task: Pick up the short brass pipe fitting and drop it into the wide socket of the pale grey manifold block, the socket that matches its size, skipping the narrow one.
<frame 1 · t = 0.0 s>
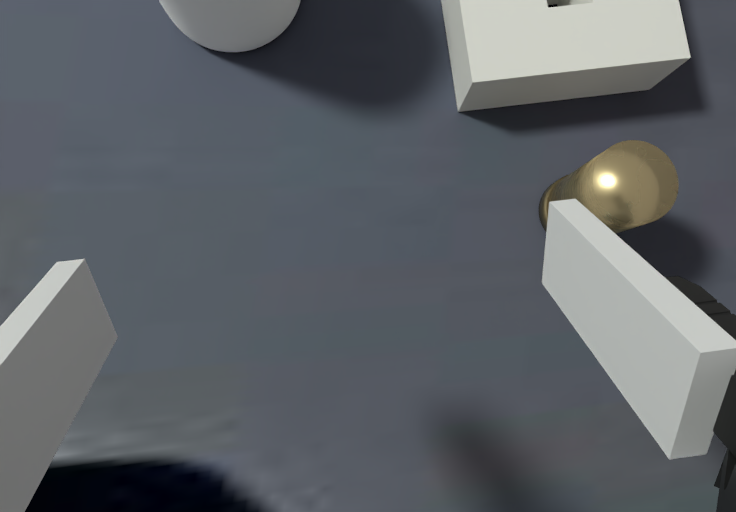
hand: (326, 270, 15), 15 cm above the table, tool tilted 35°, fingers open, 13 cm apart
fitting: (573, 211, 31), on the table
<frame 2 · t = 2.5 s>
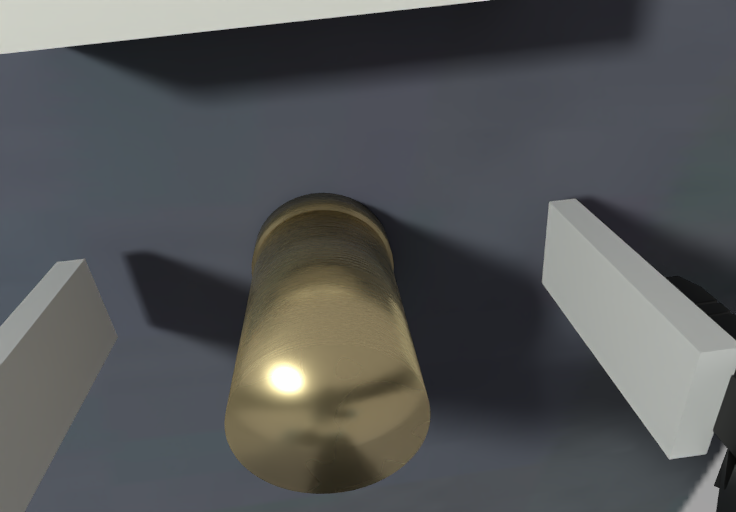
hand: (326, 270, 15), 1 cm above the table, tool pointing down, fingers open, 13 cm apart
fitting: (323, 255, 16), on the table
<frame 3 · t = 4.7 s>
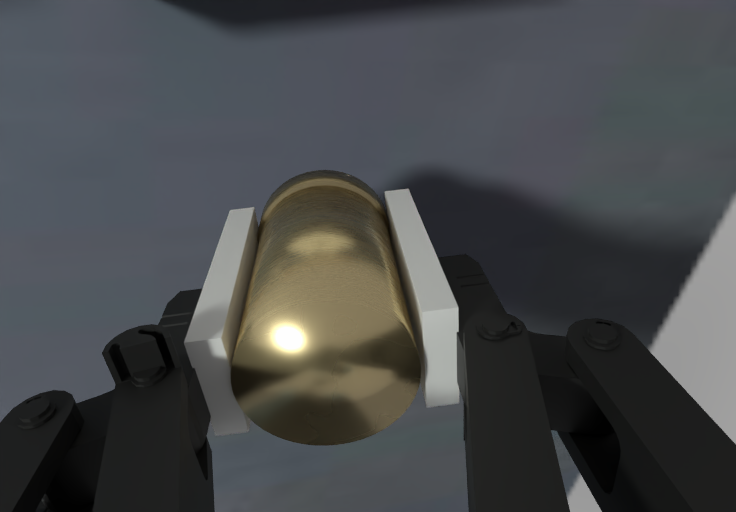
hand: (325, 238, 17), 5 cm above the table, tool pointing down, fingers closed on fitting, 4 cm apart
fitting: (325, 230, 17), point 5 cm above the table, touching gripper
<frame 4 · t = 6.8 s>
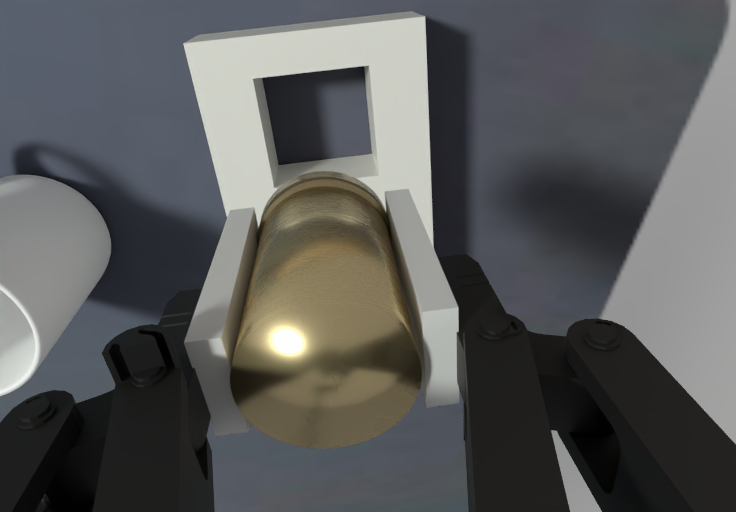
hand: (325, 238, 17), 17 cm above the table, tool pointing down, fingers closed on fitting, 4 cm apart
fitting: (325, 231, 17), point 17 cm above the table, touching gripper
mug: (31, 208, 33), on the table
manifold block: (329, 188, 34), on the table
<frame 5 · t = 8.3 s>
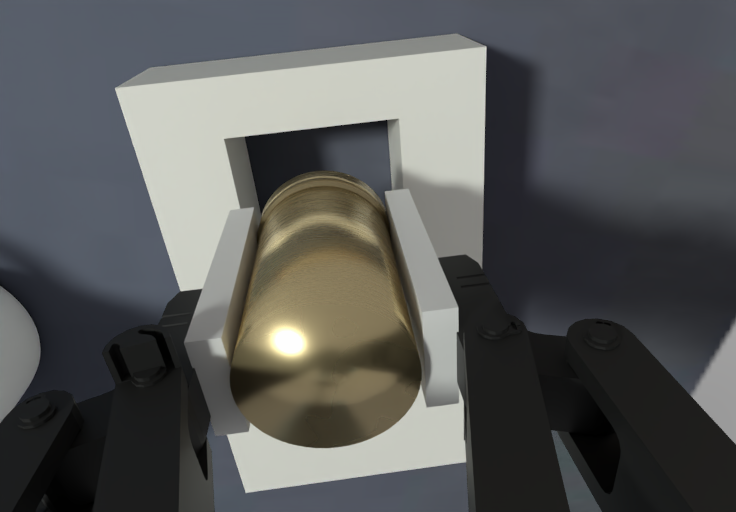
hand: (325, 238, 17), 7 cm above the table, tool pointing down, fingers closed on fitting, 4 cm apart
fitting: (325, 231, 17), point 6 cm above the table, touching gripper
manifold block: (336, 269, 25), on the table
when the fingers open (6 cm above the table, at t = 9.1 s): fitting drops 5 cm, resting in manifold block.
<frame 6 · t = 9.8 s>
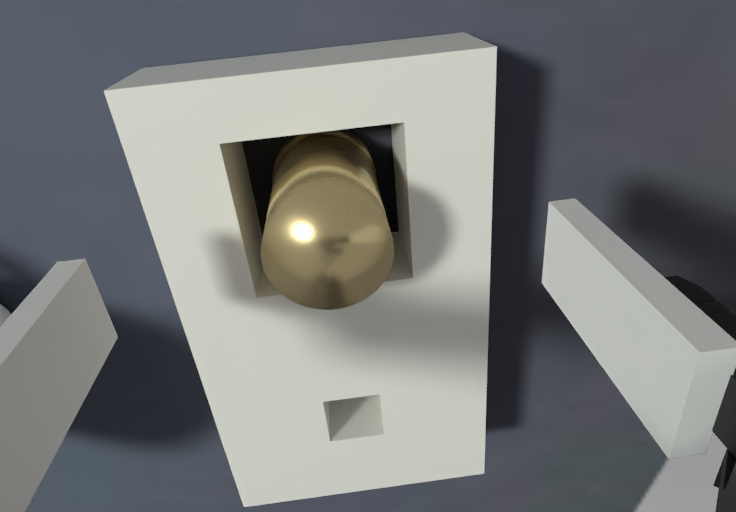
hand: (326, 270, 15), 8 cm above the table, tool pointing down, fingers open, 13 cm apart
fitting: (324, 174, 22), resting in manifold block
manifold block: (337, 277, 24), on the table
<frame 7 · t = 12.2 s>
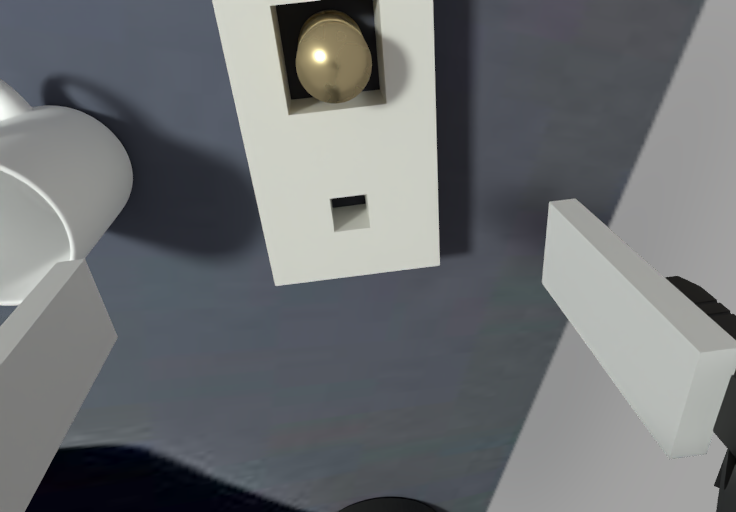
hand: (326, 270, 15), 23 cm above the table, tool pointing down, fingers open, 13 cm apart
fitting: (330, 45, 33), resting in manifold block
mug: (58, 140, 35), on the table
manifold block: (339, 123, 36), on the table
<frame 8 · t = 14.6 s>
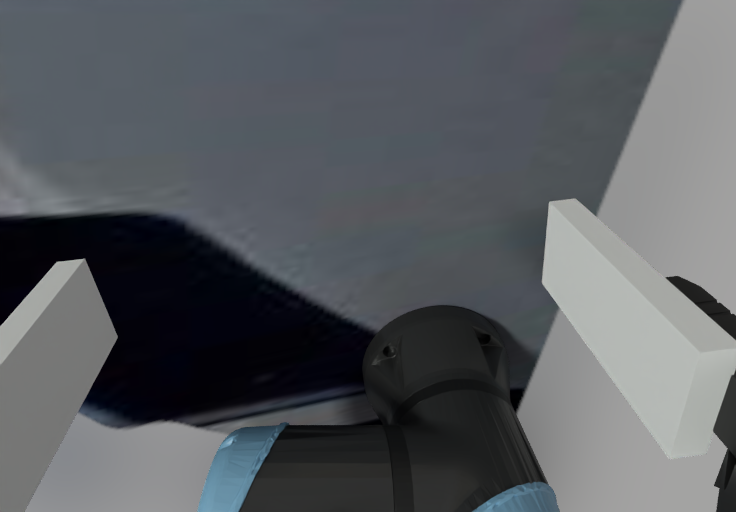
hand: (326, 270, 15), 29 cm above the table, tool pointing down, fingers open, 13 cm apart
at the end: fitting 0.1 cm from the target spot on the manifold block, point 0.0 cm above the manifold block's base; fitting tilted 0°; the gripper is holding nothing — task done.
